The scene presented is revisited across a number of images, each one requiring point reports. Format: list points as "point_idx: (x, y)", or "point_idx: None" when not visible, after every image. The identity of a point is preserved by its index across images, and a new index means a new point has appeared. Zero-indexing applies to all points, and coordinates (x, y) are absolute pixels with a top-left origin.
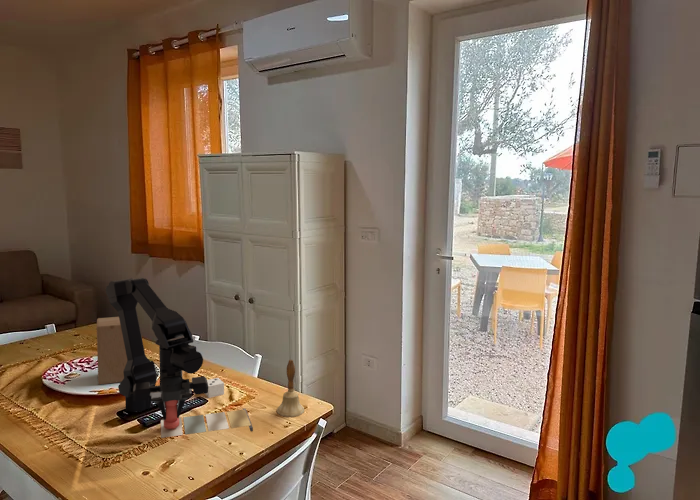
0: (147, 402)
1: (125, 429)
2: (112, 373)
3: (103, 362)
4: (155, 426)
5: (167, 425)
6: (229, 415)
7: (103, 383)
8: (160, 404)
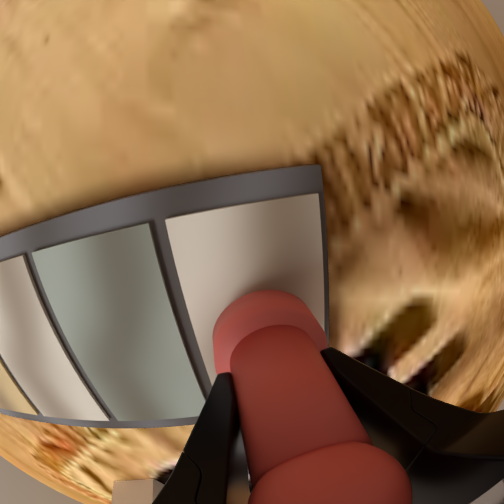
0: None
1: (435, 324)
2: None
3: None
4: None
5: (295, 304)
6: (12, 387)
7: None
8: (450, 425)
